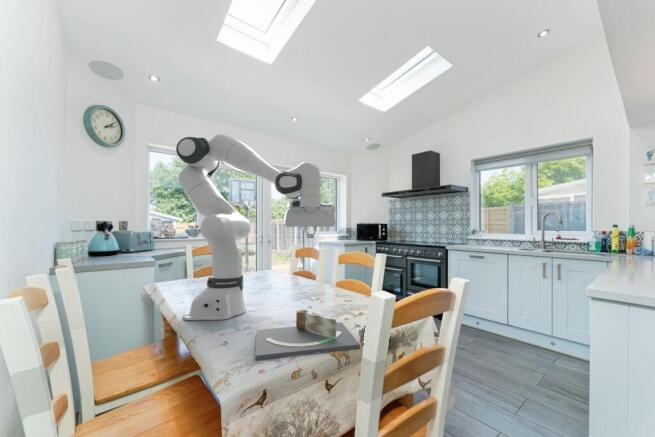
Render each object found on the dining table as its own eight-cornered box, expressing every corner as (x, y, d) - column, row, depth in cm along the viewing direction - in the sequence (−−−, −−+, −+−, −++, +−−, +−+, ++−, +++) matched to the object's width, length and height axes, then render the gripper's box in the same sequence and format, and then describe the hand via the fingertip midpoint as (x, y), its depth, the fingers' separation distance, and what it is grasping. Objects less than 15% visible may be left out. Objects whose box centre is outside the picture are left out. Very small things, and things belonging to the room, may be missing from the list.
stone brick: (294, 327, 87) (294, 311, 87) (301, 324, 90) (301, 309, 90) (331, 339, 78) (331, 321, 78) (338, 335, 81) (338, 318, 81)
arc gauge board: (255, 359, 70) (255, 354, 70) (257, 333, 87) (257, 329, 87) (359, 348, 76) (359, 343, 76) (341, 325, 93) (341, 321, 94)
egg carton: (380, 350, 75) (380, 335, 76) (355, 344, 79) (355, 329, 79) (393, 336, 85) (392, 322, 85) (370, 331, 88) (370, 318, 89)
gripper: (333, 204, 115) (333, 237, 114) (283, 203, 110) (283, 238, 110) (337, 203, 109) (337, 238, 108) (285, 202, 104) (285, 239, 104)
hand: (310, 238), depth 109 cm, fingers closed
